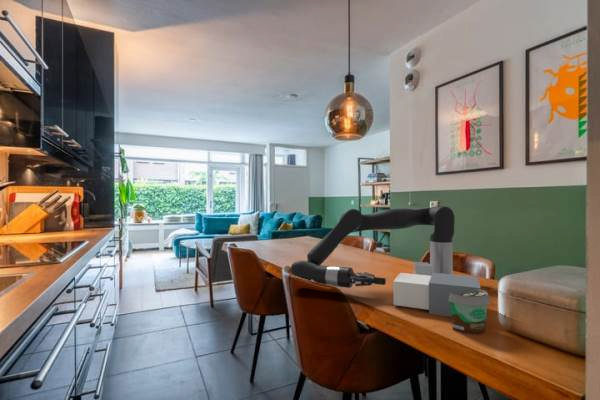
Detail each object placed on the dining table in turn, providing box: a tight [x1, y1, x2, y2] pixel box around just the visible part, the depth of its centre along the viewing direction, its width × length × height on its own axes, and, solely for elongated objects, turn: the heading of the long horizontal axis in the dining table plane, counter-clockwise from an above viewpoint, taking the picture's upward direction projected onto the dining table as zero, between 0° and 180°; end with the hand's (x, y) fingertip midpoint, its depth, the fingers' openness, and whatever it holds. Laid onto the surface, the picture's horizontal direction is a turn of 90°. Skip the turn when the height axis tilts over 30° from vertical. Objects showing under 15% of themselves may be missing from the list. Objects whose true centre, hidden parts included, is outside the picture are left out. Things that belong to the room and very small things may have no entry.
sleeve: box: [428, 273, 482, 318], centre depth 100 cm, size 14×16×10 cm
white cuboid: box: [392, 272, 431, 311], centre depth 102 cm, size 25×14×8 cm, turn 63°
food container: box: [448, 289, 491, 335], centre depth 82 cm, size 12×6×10 cm, turn 114°
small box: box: [413, 261, 432, 276], centre depth 123 cm, size 8×6×10 cm
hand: (385, 281), depth 110 cm, fingers closed
